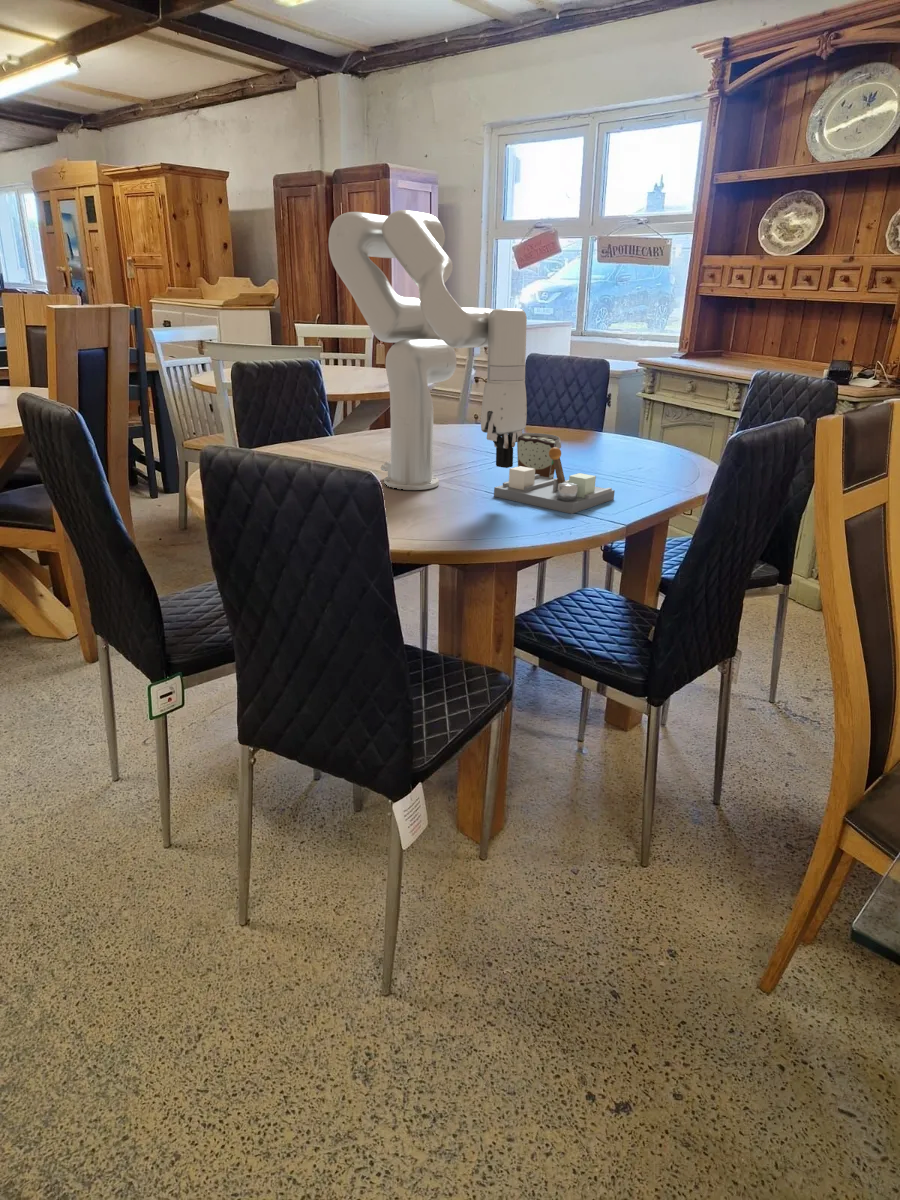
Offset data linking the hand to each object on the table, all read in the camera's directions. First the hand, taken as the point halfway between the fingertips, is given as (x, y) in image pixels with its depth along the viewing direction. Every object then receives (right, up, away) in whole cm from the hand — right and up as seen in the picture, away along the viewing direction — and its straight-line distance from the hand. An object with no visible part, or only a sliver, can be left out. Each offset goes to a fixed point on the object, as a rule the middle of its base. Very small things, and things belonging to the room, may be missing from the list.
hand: (504, 466), depth 158 cm
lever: (+13, -3, +6) cm, 15 cm away
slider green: (+16, -5, +3) cm, 18 cm away
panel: (+11, -5, +8) cm, 15 cm away
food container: (+11, +2, +28) cm, 30 cm away
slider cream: (+4, -3, +8) cm, 10 cm away
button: (+13, -7, -1) cm, 15 cm away
